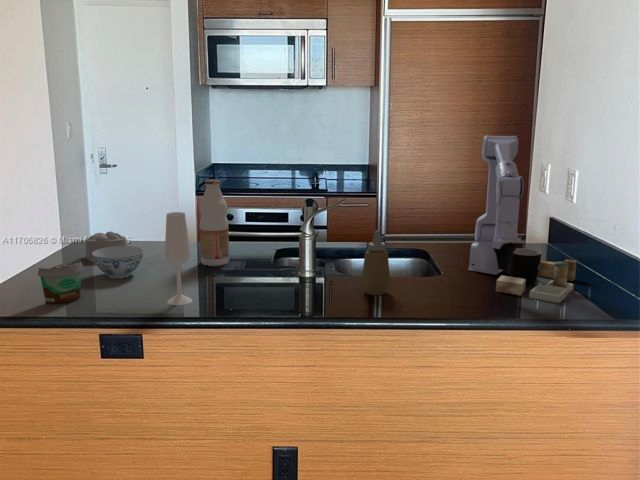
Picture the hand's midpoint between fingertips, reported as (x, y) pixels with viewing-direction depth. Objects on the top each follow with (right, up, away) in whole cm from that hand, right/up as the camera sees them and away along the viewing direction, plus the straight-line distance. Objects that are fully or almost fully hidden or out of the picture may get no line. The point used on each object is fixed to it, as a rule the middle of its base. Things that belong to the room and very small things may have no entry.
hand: (503, 269), depth 162 cm
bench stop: (+21, -3, +24) cm, 32 cm away
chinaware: (-113, -3, +20) cm, 115 cm away
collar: (+20, -6, +10) cm, 23 cm away
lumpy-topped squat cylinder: (-124, +2, +41) cm, 131 cm away
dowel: (+20, -6, +10) cm, 23 cm away
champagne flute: (-89, -9, -4) cm, 89 cm away
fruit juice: (-86, 0, +36) cm, 93 cm away
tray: (+13, -8, +2) cm, 16 cm away
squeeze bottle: (-35, -7, +5) cm, 36 cm away
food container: (-119, -8, -4) cm, 119 cm away
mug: (+11, -5, +16) cm, 20 cm away
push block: (+5, -7, +8) cm, 12 cm away
